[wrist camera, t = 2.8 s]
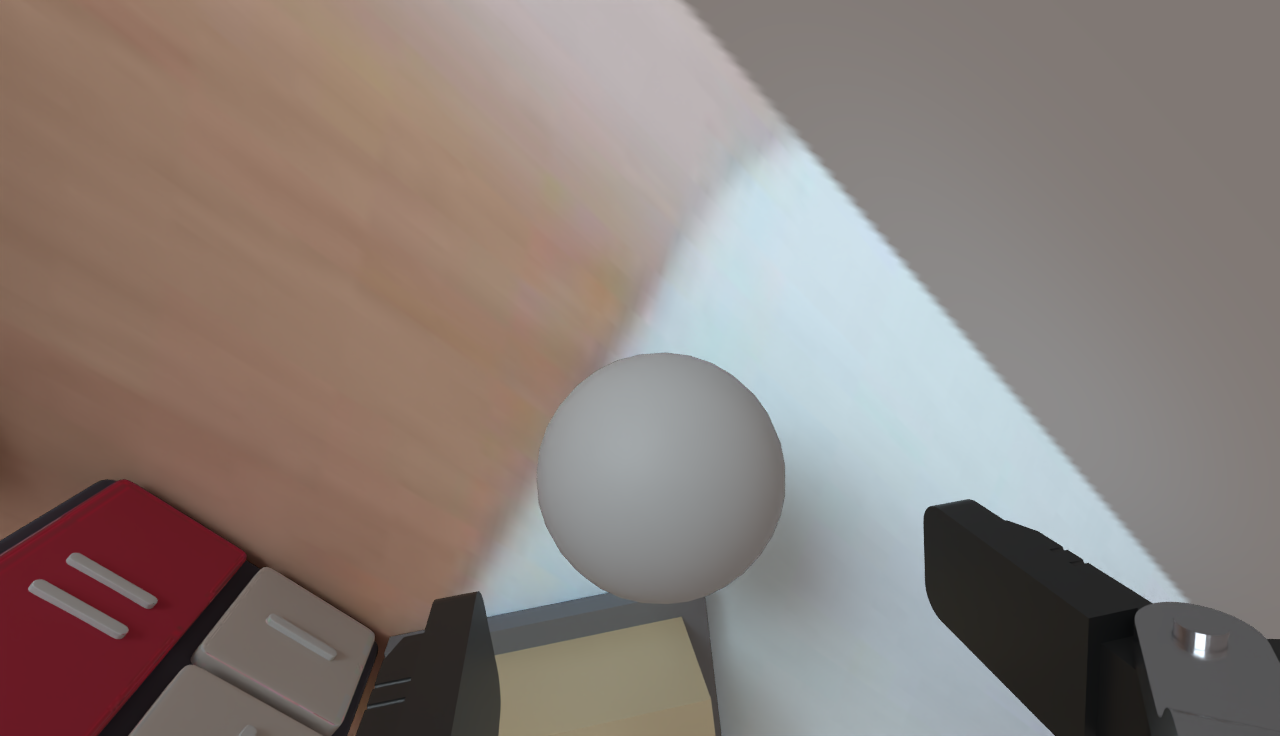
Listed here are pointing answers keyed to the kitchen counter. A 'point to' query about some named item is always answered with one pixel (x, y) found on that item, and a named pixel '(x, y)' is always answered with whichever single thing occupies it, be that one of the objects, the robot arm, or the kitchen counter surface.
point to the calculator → (164, 630)
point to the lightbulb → (661, 478)
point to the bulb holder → (604, 669)
